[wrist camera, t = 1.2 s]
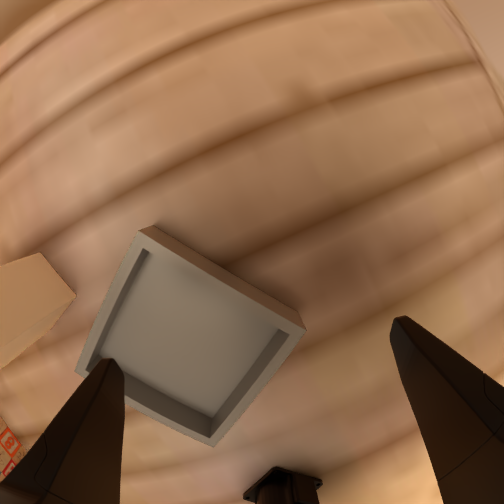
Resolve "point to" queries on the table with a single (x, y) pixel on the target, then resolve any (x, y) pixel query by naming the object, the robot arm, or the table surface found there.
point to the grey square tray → (188, 337)
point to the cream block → (29, 303)
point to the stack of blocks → (9, 450)
